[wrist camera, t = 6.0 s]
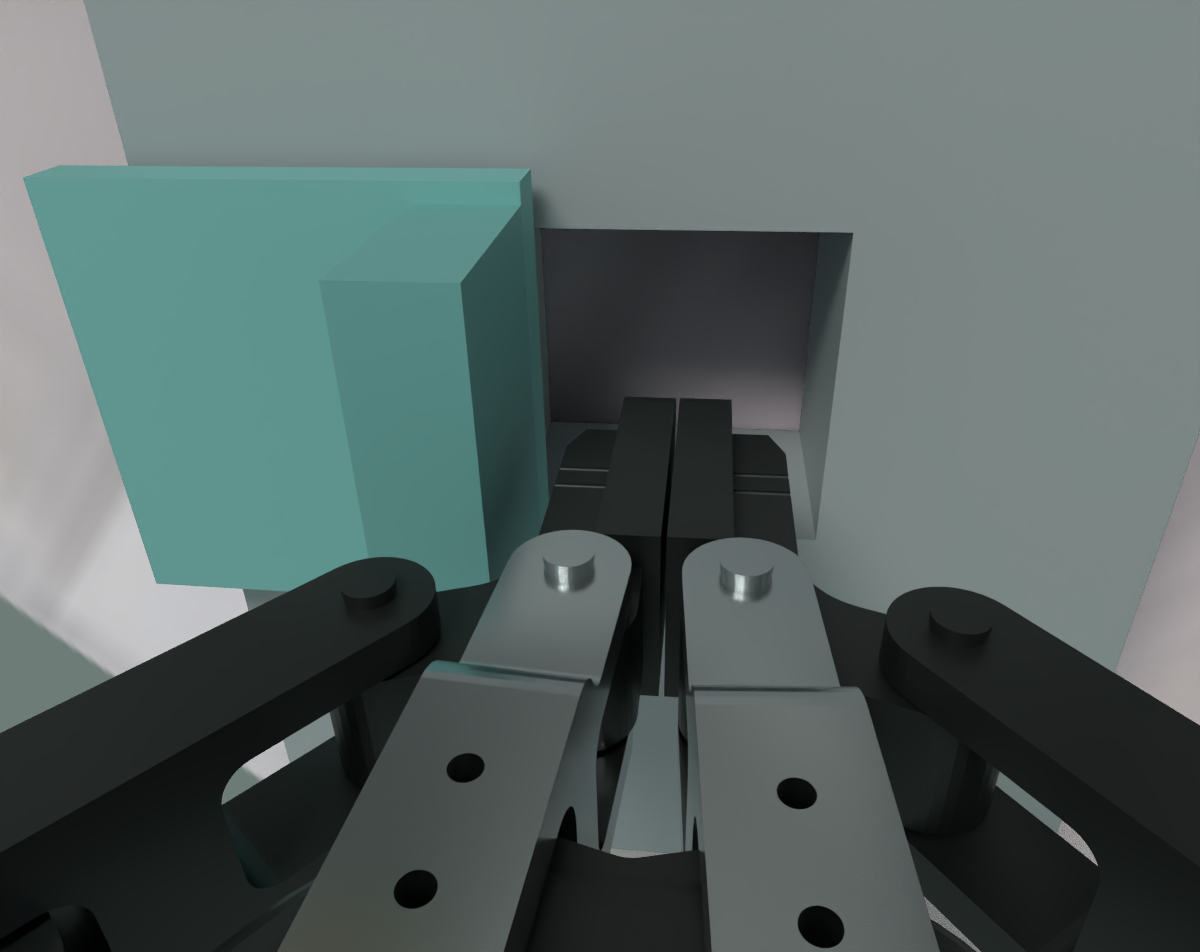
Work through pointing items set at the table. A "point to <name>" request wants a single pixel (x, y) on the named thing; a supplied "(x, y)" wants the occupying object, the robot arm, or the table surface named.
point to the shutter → (309, 362)
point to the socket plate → (845, 253)
